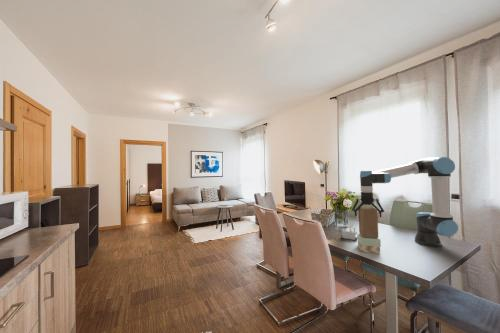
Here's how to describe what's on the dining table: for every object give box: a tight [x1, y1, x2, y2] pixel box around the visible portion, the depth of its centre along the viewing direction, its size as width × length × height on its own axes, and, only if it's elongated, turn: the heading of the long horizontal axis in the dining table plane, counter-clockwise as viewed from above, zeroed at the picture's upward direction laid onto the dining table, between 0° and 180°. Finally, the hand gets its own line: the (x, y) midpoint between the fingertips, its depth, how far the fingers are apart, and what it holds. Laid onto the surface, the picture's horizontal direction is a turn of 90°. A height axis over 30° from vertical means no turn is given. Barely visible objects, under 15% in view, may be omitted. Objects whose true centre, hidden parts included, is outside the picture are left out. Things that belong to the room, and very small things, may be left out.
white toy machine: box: [340, 223, 358, 242], centre depth 173 cm, size 18×10×12 cm
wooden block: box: [357, 206, 379, 238], centre depth 146 cm, size 10×10×20 cm
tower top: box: [357, 232, 382, 248], centre depth 146 cm, size 12×12×5 cm
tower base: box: [357, 240, 381, 254], centre depth 146 cm, size 12×12×5 cm
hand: (368, 221), depth 146 cm, fingers open, 13 cm apart
